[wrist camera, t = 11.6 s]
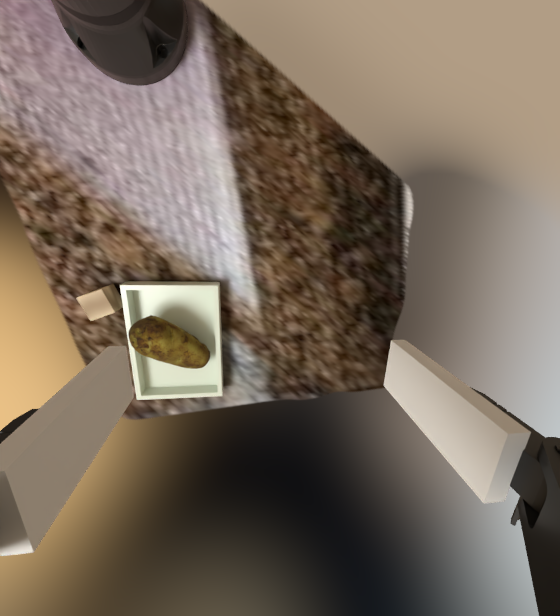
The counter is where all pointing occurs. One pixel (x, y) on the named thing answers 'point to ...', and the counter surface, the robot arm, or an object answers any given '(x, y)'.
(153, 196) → the counter surface
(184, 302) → the tray
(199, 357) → the potato
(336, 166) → the counter surface
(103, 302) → the beech block
